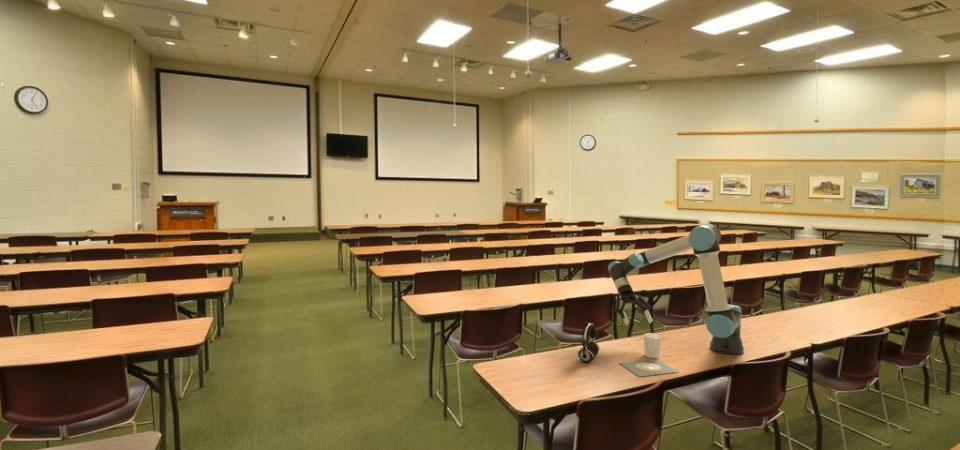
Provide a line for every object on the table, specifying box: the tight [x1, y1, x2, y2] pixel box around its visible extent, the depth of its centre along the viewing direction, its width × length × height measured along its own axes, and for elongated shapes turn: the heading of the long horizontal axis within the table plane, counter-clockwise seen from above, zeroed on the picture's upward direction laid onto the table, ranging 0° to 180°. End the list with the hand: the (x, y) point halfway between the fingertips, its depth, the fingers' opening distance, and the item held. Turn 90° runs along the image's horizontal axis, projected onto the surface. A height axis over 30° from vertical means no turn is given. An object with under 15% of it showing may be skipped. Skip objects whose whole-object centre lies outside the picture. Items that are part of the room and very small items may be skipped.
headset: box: [577, 321, 600, 363], centre depth 218 cm, size 17×8×20 cm, turn 150°
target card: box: [618, 358, 679, 378], centre depth 208 cm, size 20×16×1 cm
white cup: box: [643, 333, 662, 359], centre depth 223 cm, size 8×8×10 cm
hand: (639, 322), depth 232 cm, fingers open, 13 cm apart
